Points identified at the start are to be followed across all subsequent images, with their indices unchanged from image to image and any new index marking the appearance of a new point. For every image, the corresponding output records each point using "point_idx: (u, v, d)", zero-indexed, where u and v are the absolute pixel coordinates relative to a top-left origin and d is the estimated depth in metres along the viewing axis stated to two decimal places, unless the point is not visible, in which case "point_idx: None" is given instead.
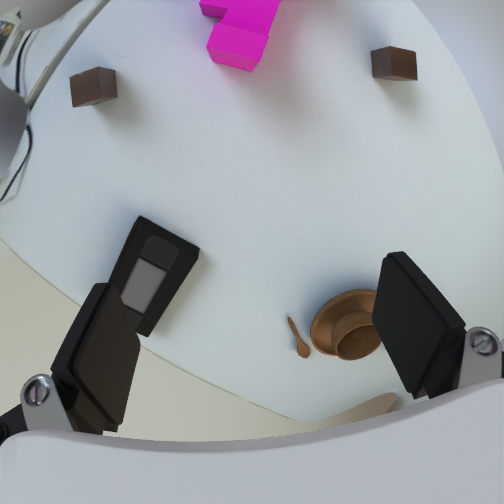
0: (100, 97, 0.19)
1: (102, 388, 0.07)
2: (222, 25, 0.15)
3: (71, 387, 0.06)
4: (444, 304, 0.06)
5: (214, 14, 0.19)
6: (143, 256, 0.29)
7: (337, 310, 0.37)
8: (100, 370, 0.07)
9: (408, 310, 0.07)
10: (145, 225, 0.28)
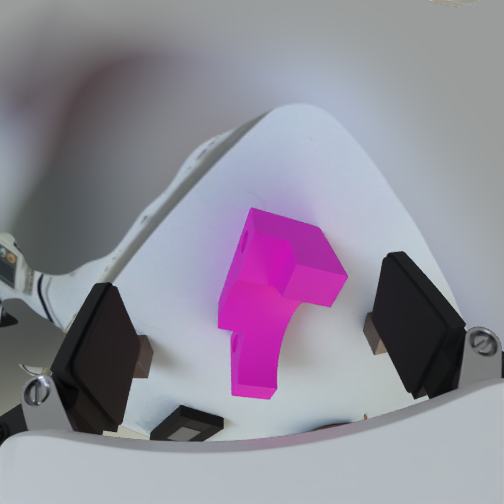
0: (147, 377, 0.28)
1: (102, 388, 0.07)
2: (243, 385, 0.24)
3: (71, 387, 0.06)
4: (444, 304, 0.06)
5: None
6: (185, 426, 0.38)
7: None
8: (100, 370, 0.07)
9: (408, 310, 0.07)
10: (187, 414, 0.37)
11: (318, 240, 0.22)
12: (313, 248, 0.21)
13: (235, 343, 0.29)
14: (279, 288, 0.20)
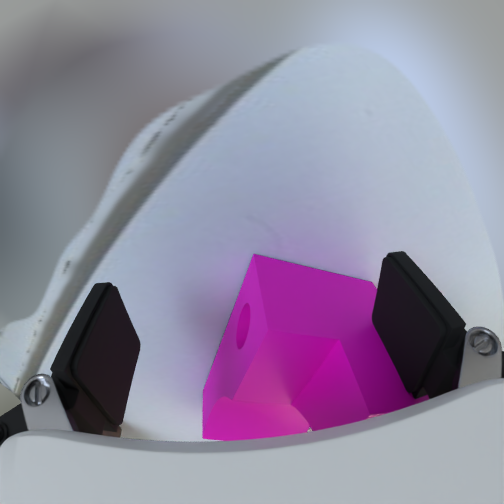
0: None
1: (102, 388, 0.07)
2: None
3: (71, 387, 0.06)
4: (444, 304, 0.06)
5: None
6: None
7: None
8: (100, 370, 0.07)
9: (408, 310, 0.07)
10: None
11: None
12: (381, 344, 0.09)
13: None
14: (316, 430, 0.08)
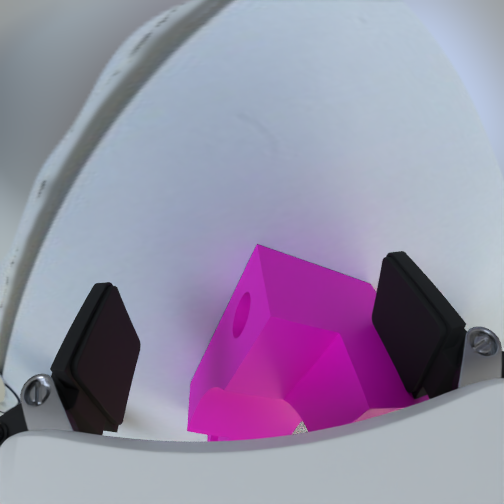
0: None
1: (102, 388, 0.07)
2: None
3: (71, 387, 0.06)
4: (444, 304, 0.06)
5: None
6: None
7: None
8: (100, 370, 0.07)
9: (408, 310, 0.07)
10: None
11: None
12: (380, 342, 0.09)
13: None
14: (310, 425, 0.08)
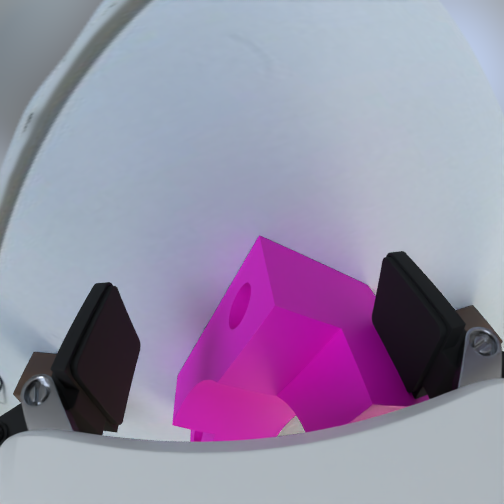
0: None
1: (102, 388, 0.07)
2: None
3: (71, 387, 0.06)
4: (444, 304, 0.06)
5: None
6: None
7: None
8: (100, 370, 0.07)
9: (408, 310, 0.07)
10: None
11: None
12: (379, 341, 0.09)
13: None
14: (306, 423, 0.08)
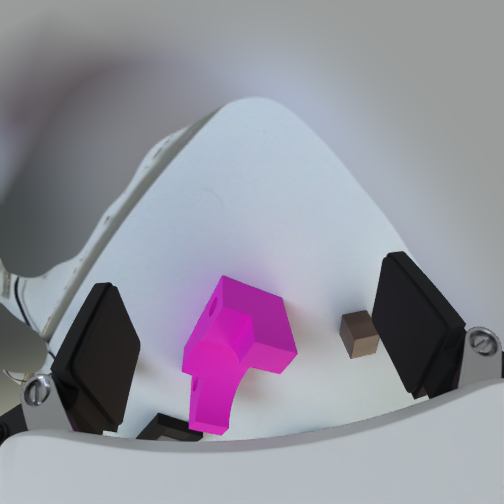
0: None
1: (102, 388, 0.07)
2: (199, 422, 0.25)
3: (71, 387, 0.06)
4: (444, 304, 0.06)
5: None
6: (164, 434, 0.36)
7: None
8: (100, 370, 0.07)
9: (408, 310, 0.07)
10: (164, 422, 0.35)
11: (278, 313, 0.25)
12: (271, 323, 0.23)
13: (195, 383, 0.31)
14: (238, 354, 0.22)
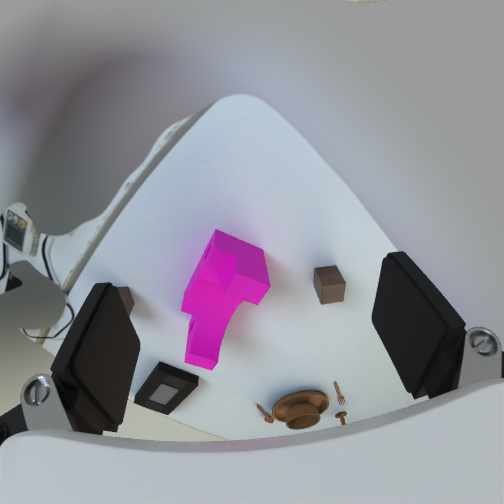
0: None
1: (102, 388, 0.07)
2: (193, 355, 0.33)
3: (71, 387, 0.06)
4: (444, 304, 0.06)
5: None
6: (164, 383, 0.45)
7: (289, 400, 0.52)
8: (100, 370, 0.07)
9: (408, 310, 0.07)
10: (164, 369, 0.44)
11: (258, 259, 0.33)
12: (251, 263, 0.31)
13: (192, 325, 0.39)
14: (224, 287, 0.30)
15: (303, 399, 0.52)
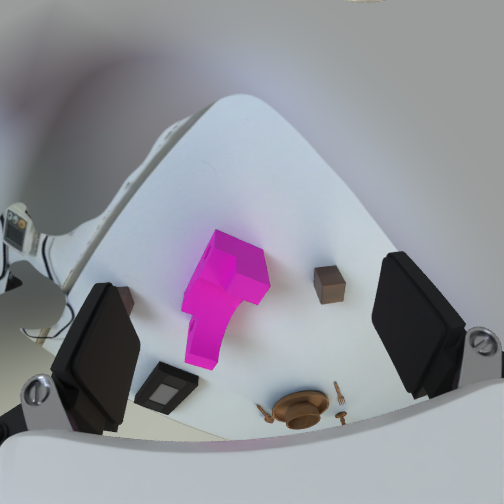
0: None
1: (102, 388, 0.07)
2: (193, 355, 0.33)
3: (71, 387, 0.06)
4: (444, 304, 0.06)
5: None
6: (164, 383, 0.45)
7: (289, 400, 0.52)
8: (100, 370, 0.07)
9: (408, 310, 0.07)
10: (164, 369, 0.44)
11: (258, 259, 0.33)
12: (251, 263, 0.31)
13: (192, 325, 0.39)
14: (224, 287, 0.30)
15: (303, 399, 0.52)
